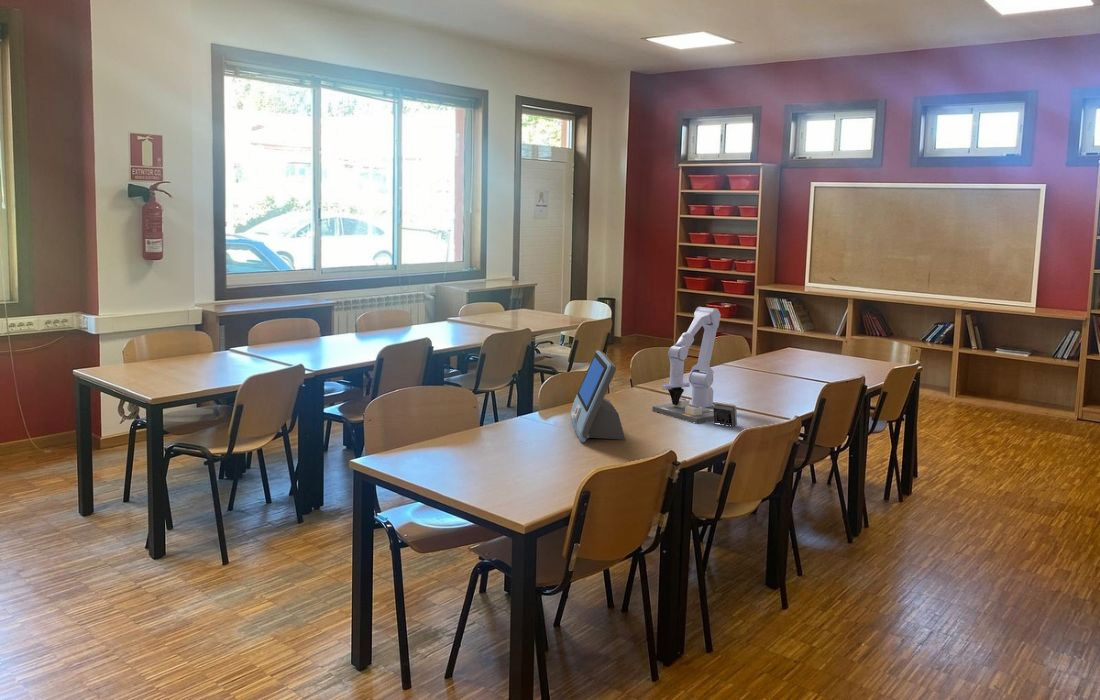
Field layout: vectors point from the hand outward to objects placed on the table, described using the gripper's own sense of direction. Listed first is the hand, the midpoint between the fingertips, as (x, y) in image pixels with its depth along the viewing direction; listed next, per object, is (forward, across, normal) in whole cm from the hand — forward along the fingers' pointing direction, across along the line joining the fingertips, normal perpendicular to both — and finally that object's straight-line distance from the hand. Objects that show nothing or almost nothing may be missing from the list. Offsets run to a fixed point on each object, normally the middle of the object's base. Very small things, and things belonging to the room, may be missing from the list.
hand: (675, 404), depth 372 cm
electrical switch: (+3, +1, -28) cm, 28 cm away
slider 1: (+1, +4, 0) cm, 4 cm away
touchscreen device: (+3, -51, -8) cm, 52 cm away
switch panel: (+3, +2, -6) cm, 7 cm away
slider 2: (+1, -2, -13) cm, 13 cm away
